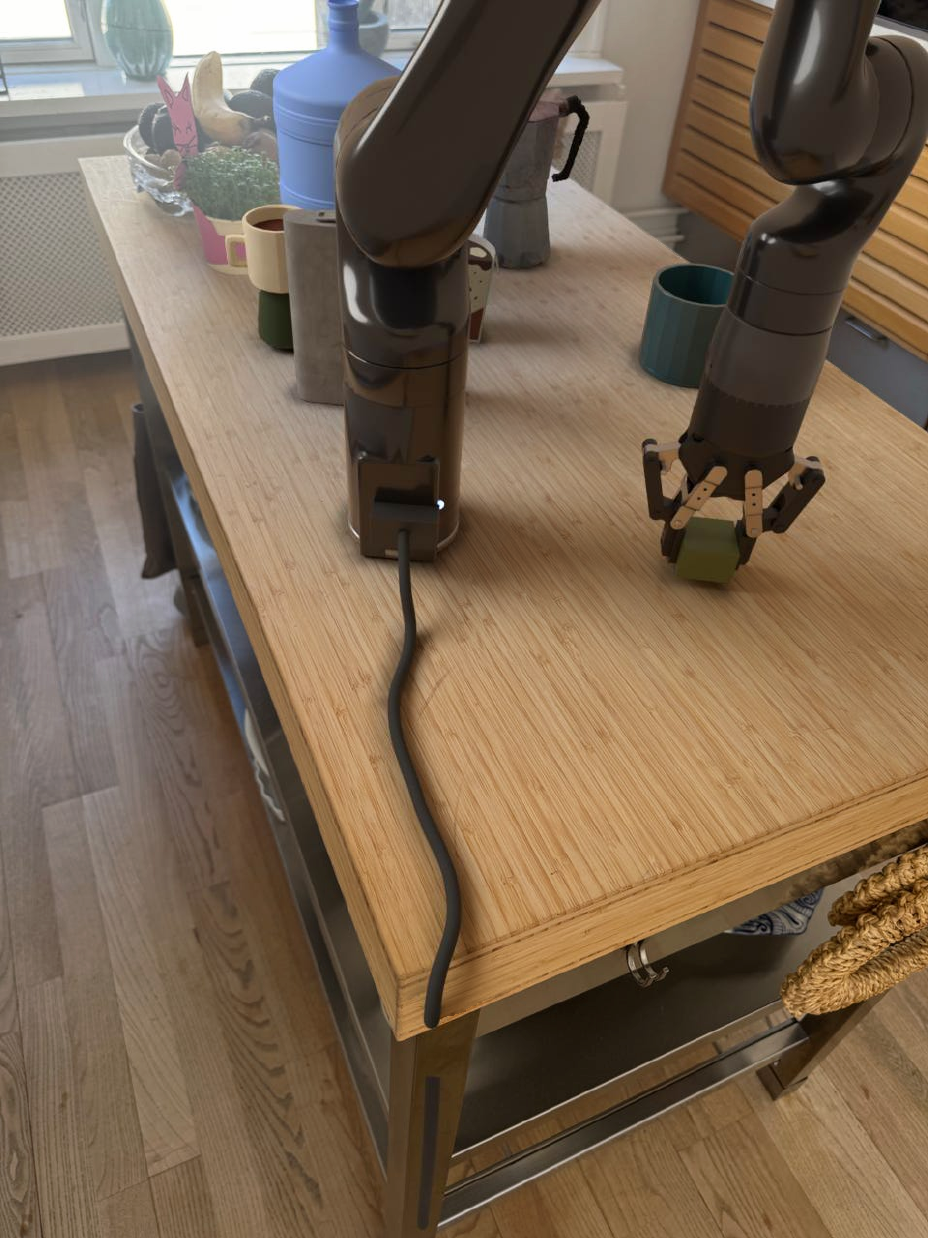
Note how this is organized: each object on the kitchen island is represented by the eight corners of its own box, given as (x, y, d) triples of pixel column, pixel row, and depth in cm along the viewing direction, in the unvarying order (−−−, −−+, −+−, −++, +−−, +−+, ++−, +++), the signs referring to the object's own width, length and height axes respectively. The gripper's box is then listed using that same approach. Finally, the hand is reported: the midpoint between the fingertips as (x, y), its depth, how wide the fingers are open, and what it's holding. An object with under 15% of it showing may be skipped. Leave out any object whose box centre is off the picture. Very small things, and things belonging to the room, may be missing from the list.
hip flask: (455, 387, 95) (465, 184, 81) (457, 408, 93) (468, 202, 79) (298, 384, 94) (281, 178, 80) (295, 406, 91) (278, 196, 77)
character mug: (340, 324, 104) (335, 205, 95) (338, 356, 99) (332, 234, 90) (241, 322, 103) (226, 202, 94) (233, 355, 98) (217, 230, 89)
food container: (497, 318, 107) (504, 230, 100) (493, 344, 102) (500, 254, 95) (390, 307, 107) (390, 219, 100) (382, 333, 103) (381, 243, 96)
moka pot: (447, 246, 120) (454, 72, 106) (551, 232, 125) (571, 64, 111) (479, 277, 114) (490, 97, 100) (587, 261, 119) (612, 87, 105)
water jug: (436, 289, 111) (445, 16, 92) (310, 309, 106) (292, 23, 86) (387, 237, 121) (386, -19, 101) (269, 253, 116) (245, -14, 96)
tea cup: (735, 391, 98) (759, 310, 92) (641, 383, 98) (657, 302, 92) (723, 345, 105) (744, 267, 99) (635, 337, 105) (650, 259, 99)
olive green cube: (730, 583, 75) (740, 555, 72) (675, 577, 75) (683, 548, 73) (724, 548, 78) (733, 520, 76) (671, 543, 78) (679, 514, 76)
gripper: (660, 389, 62) (615, 581, 73) (876, 411, 61) (796, 601, 73) (654, 335, 67) (613, 523, 79) (853, 356, 67) (781, 541, 79)
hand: (701, 559), depth 76 cm, fingers closed on olive green cube, 4 cm apart
